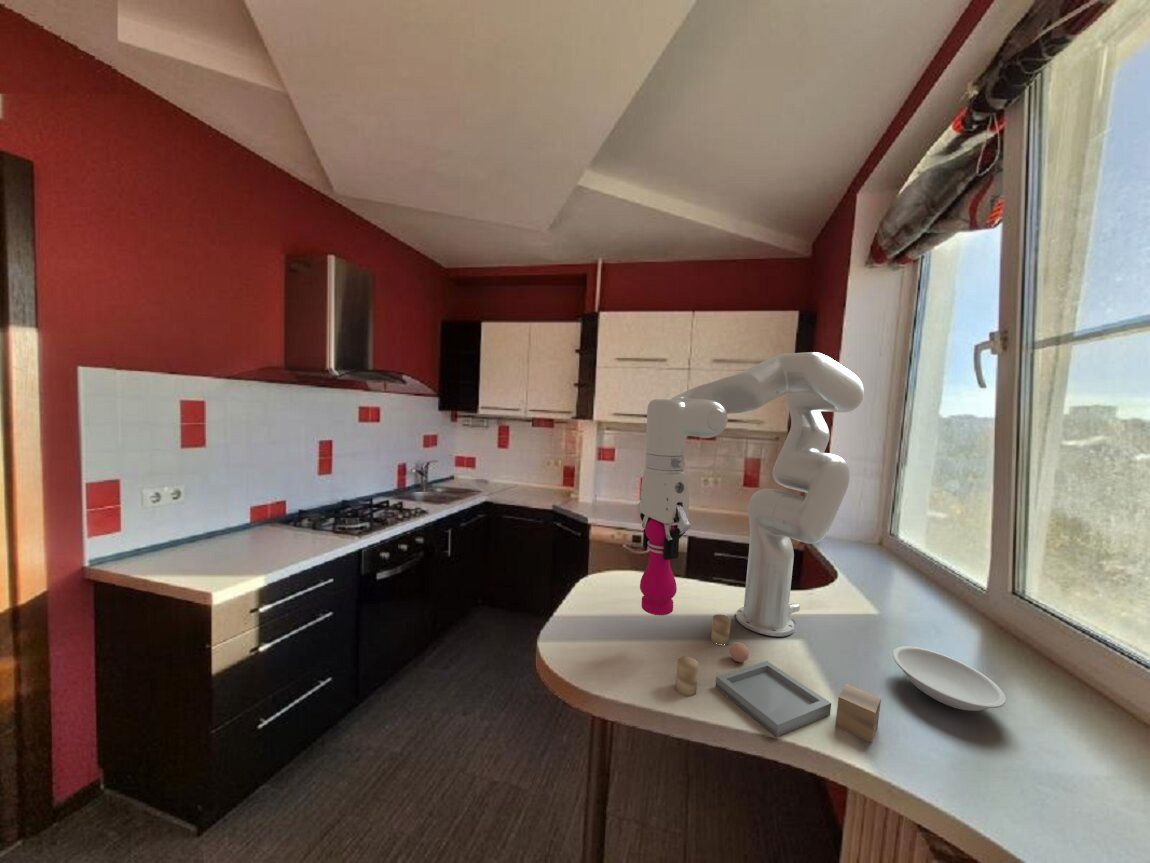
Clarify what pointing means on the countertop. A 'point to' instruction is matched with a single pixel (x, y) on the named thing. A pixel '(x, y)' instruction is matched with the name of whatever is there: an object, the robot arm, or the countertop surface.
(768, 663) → the tray
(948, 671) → the dish
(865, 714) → the walnut block
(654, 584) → the pepper mill
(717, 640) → the cork
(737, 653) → the ball
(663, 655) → the countertop surface
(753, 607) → the robot arm
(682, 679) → the cork
